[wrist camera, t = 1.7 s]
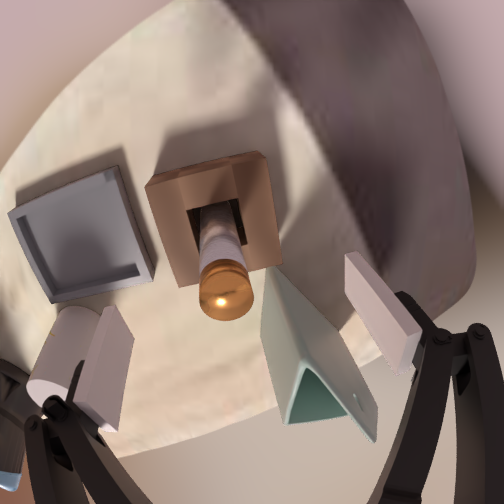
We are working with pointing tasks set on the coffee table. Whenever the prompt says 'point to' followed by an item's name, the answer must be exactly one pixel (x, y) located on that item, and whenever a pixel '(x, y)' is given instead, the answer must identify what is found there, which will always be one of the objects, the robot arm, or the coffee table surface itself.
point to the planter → (310, 361)
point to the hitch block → (208, 192)
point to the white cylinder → (62, 353)
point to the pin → (222, 265)
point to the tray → (83, 238)
